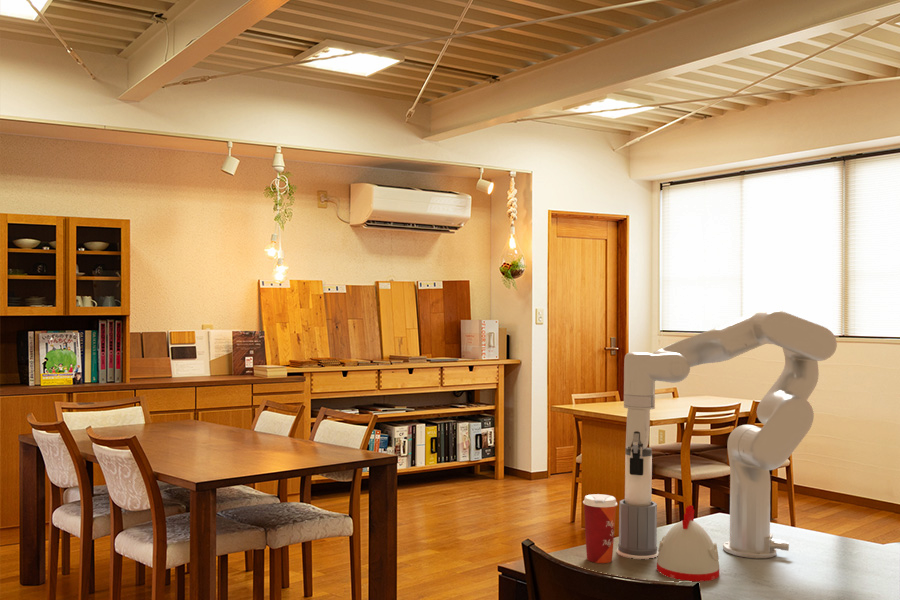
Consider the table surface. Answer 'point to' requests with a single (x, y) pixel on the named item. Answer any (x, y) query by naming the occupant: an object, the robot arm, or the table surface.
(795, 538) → the table surface
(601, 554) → the coffee cup
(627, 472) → the plunger
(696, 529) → the kitchen timer
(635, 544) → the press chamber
